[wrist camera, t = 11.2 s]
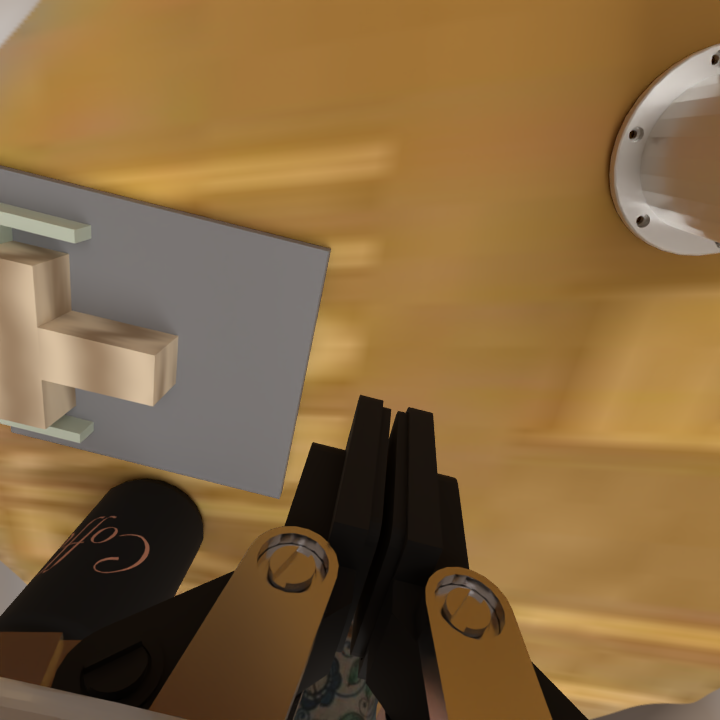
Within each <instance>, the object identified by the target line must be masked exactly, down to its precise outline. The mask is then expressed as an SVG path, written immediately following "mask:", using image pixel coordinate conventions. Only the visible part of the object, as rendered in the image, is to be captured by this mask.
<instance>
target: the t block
mask: <svg viewBox="0 0 720 720" xmlns="http://www.w3.org/2000/svg"><path fill="white" fill-rule="evenodd" d="M177 352H178V336H177V335H172V334H168V333H164V332H160V331H156V330H151V329H147V328H143V327H139V326H135V325H130V324H126V323H122V322H118V321H114V320H110V319H105V318H101V317H97V316H93V315H89V314H84V313H80V312H76V311H72V307H71V285H70V263H69V254H67V253H63V252H59V251H54V250H50V249H46V248H42V247H38V246H34V245H29V244H25V243H21V242H17V241H9V242H5V243H1V244H0V419H3V420H8V421H12V422H16V423H20V424H24V425H28V426H33V427H37V428H41V429H47V428H48V427H49V426H51V425H52V424H53V423H54V422H56V421H57V420H58V419H59V418H61V417H62V416H63V415H65V414H66V413H67V412H68V411H70V410H71V409H72V408H73V407H75V406H76V394H75V388H78V389H82V390H86V391H90V392H95V393H99V394H103V395H107V396H111V397H116V398H120V399H124V400H128V401H132V402H137V403H141V404H145V405H149V406H154V405H155V404H156V403H157V402H158V401H159V400H160V399H161V398H162V397H163V396H164V395H165V394H166V393H167V392H168V391H169V390H170V389H171V388H172V387H173V386H174V385H175V384H176V370H177Z"/></svg>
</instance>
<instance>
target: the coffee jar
mask: <svg viewBox="0 0 720 720" xmlns="http://www.w3.org/2000/svg"><path fill="white" fill-rule="evenodd" d="M202 540H203V523H202V520H201V516H200V513H199V511H198V509H197V506H196V505H195V504H194V502H193V501H192V500H191V499H190V498H189V496H188V495H186V494H185V493H184V492H182V491H181V490H179V489H178V488H177V487H175V486H173V485H170V484H168V483H165V482H163V481H159V480H152V479H140V480H133V481H127V482H125V483H123V484H120V485H118V486H116V487H114V488H112V489H111V490H110V491H109V492H108V493H107V494H106V495H105V496H104V497H103V499H102V500H101V501H100V502H99V503H98V504H97V506H96V507H95V508H94V509H93V510H92V511H91V512H90V514H89V515H88V516H87V517H86V518H85V519H84V521H83V522H82V523H81V524H80V525H79V526H78V527H77V529H76V530H75V531H74V532H73V533H72V534H71V536H70V537H69V538H68V539H67V540H66V541H65V542H64V544H63V545H62V546H61V547H60V548H59V549H58V550H57V552H56V553H55V554H54V555H53V556H52V557H51V559H50V560H49V561H48V562H47V563H46V564H45V565H44V567H43V568H42V569H41V570H40V571H39V572H38V574H37V575H36V576H35V577H34V578H33V579H32V580H31V582H30V583H29V584H28V585H27V586H26V587H25V589H24V590H23V591H22V592H21V593H20V594H19V596H18V597H17V598H16V599H15V600H14V601H13V602H12V603H11V605H10V606H9V607H8V608H7V609H6V610H5V612H4V613H3V614H2V615H1V616H0V632H63V640H82V639H84V638H85V637H87V636H89V635H90V634H92V633H94V632H96V631H97V630H99V629H101V628H103V627H105V626H108V625H110V624H112V623H115V622H117V621H119V620H122V619H124V618H126V617H129V616H131V615H133V614H136V613H138V612H140V611H142V610H145V609H147V608H149V607H152V606H154V605H156V604H159V603H161V602H163V601H166V600H168V599H170V598H173V597H174V596H175V594H176V592H177V590H178V588H179V586H180V584H181V582H182V580H183V579H184V577H185V575H186V573H187V571H188V569H189V567H190V565H191V563H192V561H193V560H194V558H195V556H196V554H197V552H198V550H199V548H200V545H201V543H202Z"/></svg>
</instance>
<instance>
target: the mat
mask: <svg viewBox="0 0 720 720" xmlns="http://www.w3.org/2000/svg"><path fill="white" fill-rule="evenodd" d="M9 241H17V242H21V243H25V244H29V245H34V246H38V247H42V248H46V249H50V250H54V251H59V252H63V253H67V254H69V263H70V285H71V307H72V311H76V312H80V313H84V314H89V315H93V316H97V317H101V318H105V319H110V320H114V321H118V322H122V323H126V324H130V325H135V326H139V327H143V328H147V329H151V330H156V331H160V332H164V333H168V334H172V335H177V336H178V352H177V370H176V384H175V385H174V386H173V387H172V388H171V389H170V390H169V391H168V392H167V393H166V394H165V395H164V396H163V397H162V398H161V399H160V400H159V401H158V402H157V403H156V404H155V405H154V406H149V405H145V404H141V403H137V402H132V401H128V400H124V399H120V398H116V397H111V396H107V395H103V394H99V393H95V392H90V391H86V390H82V389H78V388H75V394H76V406H75V407H73V408H72V409H71V410H70V411H68V412H67V413H66V414H65V415H63V416H62V417H61V418H59V419H58V420H57V421H56V422H54V423H53V424H52V425H51V426H49V427H48V428H47V429H41V428H37V427H33V426H28V425H24V424H20V423H16V422H12V421H8V420H3V419H0V423H1V424H5V425H9V426H11V432H13V433H17V434H21V435H25V436H29V437H33V438H37V439H41V440H45V441H49V442H53V443H57V444H61V445H65V446H69V447H73V448H77V449H81V450H85V451H89V452H93V453H97V454H101V455H105V456H109V457H113V458H117V459H121V460H125V461H129V462H133V463H137V464H141V465H145V466H149V467H153V468H157V469H161V470H165V471H169V472H173V473H177V474H181V475H185V476H189V477H193V478H197V479H201V480H205V481H209V482H213V483H217V484H221V485H225V486H229V487H233V488H237V489H241V490H245V491H249V492H253V493H257V494H261V495H265V496H269V497H273V498H277V499H279V498H280V496H281V493H282V489H283V484H284V479H285V474H286V469H287V464H288V459H289V454H290V449H291V444H292V439H293V434H294V429H295V424H296V420H297V415H298V410H299V405H300V400H301V395H302V390H303V385H304V380H305V375H306V370H307V365H308V360H309V355H310V350H311V345H312V341H313V336H314V331H315V326H316V321H317V316H318V311H319V306H320V301H321V296H322V291H323V286H324V281H325V276H326V271H327V267H328V262H329V257H330V252H331V249H330V248H326V247H322V246H318V245H314V244H310V243H306V242H302V241H298V240H294V239H290V238H286V237H282V236H278V235H274V234H270V233H266V232H262V231H258V230H254V229H250V228H246V227H242V226H238V225H234V224H231V223H227V222H223V221H219V220H215V219H211V218H207V217H203V216H199V215H195V214H191V213H187V212H183V211H179V210H175V209H171V208H167V207H163V206H159V205H155V204H151V203H147V202H143V201H139V200H135V199H132V198H128V197H124V196H120V195H116V194H112V193H108V192H104V191H100V190H96V189H92V188H88V187H84V186H80V185H76V184H72V183H68V182H64V181H60V180H56V179H52V178H48V177H44V176H40V175H36V174H33V173H29V172H25V171H21V170H17V169H13V168H9V167H5V166H1V165H0V244H1V243H5V242H9Z"/></svg>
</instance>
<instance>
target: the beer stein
mask: <svg viewBox="0 0 720 720" xmlns="http://www.w3.org/2000/svg"><path fill="white" fill-rule="evenodd" d="M353 621H354V617H353V620H352V623H351V626H350V629H349V632H348V635H347V638H346V641H345V644H344V647H343V650H342V652H341V653H339V652H336V653H335V656H334V660H333V663H332V666H331V669H330V672H329V674H328V675H326V676H325V677H323V678H322V679H320V680H319V681H317V682H316V683H314V684H313V685H311V686H310V687H308V688H307V689H305V690H304V691H303V694H302V698H301V701H300V704H299V706H298V709H297V712H296V715H295V718H294V720H376V710H377V704H378V700H377V699H376V697H375V696H374V694H373V693H372V691H371V690H370V689H369V687H368V686H367V684H366V683H365V682H366V680H364V679H360V678H357V677H358V668H359V657H355V656H351V655H350V645H351V637H352V629H353Z"/></svg>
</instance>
